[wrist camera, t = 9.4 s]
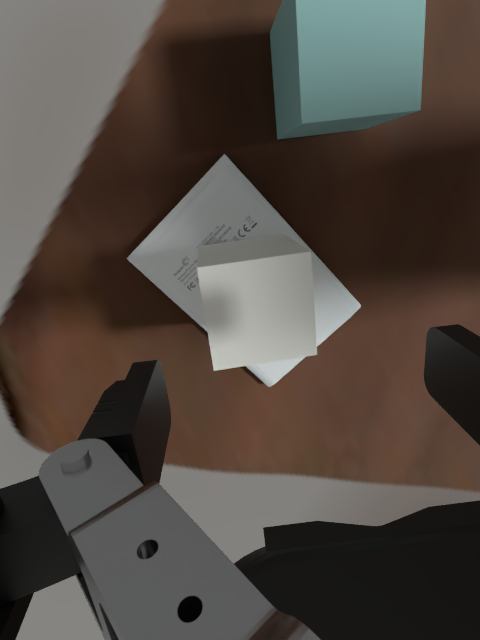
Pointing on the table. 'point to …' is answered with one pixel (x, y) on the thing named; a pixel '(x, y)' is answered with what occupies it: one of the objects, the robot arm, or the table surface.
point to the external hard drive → (225, 226)
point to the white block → (257, 300)
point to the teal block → (345, 64)
